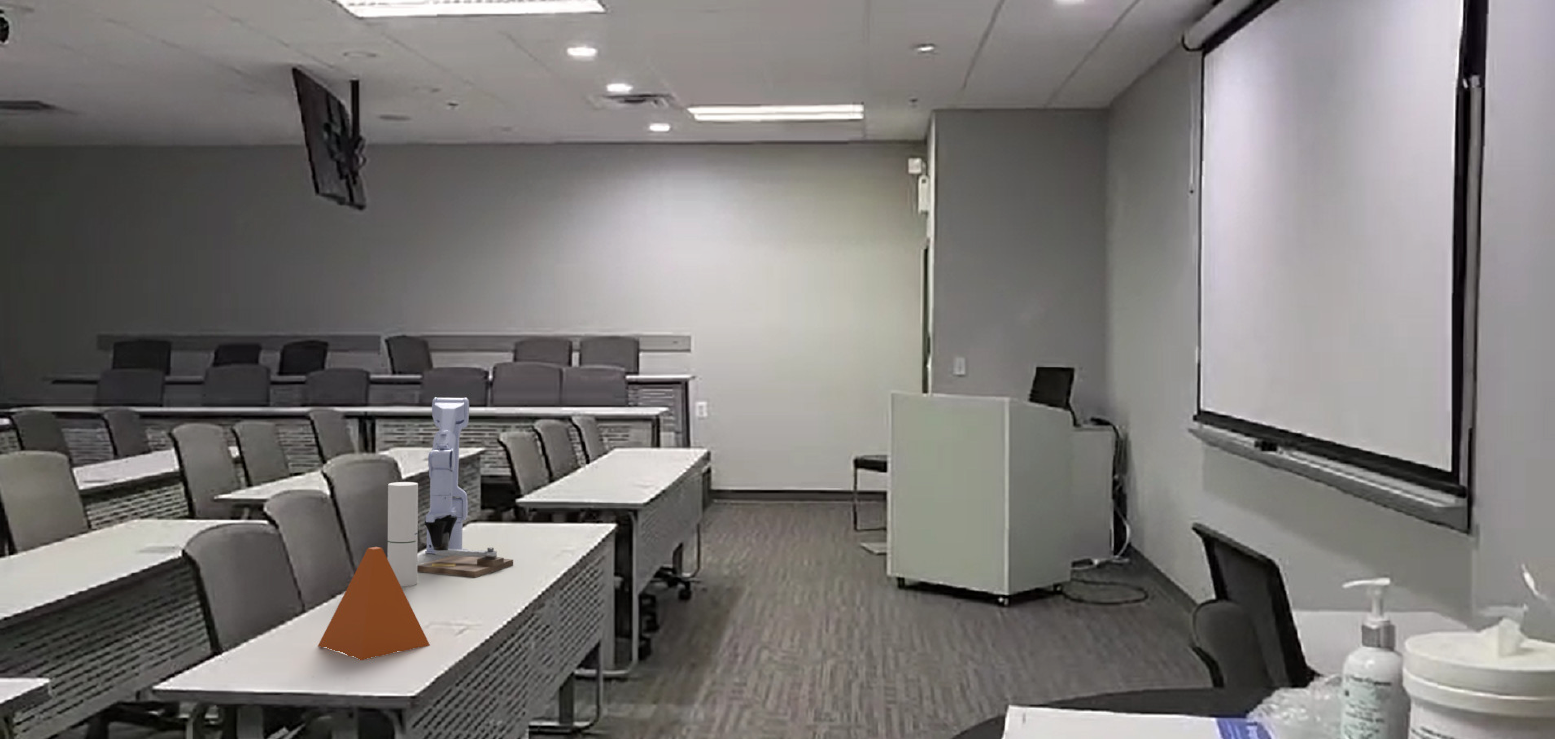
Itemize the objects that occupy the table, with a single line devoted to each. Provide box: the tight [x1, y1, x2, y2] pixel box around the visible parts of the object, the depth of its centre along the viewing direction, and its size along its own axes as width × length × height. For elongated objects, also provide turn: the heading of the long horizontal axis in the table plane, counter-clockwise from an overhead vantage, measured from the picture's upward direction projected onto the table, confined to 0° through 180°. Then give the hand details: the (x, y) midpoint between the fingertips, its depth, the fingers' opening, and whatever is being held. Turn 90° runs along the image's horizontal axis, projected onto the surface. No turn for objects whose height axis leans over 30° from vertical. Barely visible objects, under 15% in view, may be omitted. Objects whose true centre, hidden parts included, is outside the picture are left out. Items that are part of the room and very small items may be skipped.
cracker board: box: [417, 556, 514, 578], centre depth 332 cm, size 18×18×3 cm
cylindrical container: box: [387, 481, 419, 587], centre depth 311 cm, size 7×7×25 cm
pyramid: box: [317, 546, 431, 661], centre depth 252 cm, size 16×16×20 cm
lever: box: [433, 532, 498, 558], centre depth 332 cm, size 18×4×6 cm, turn 80°
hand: (440, 545), depth 333 cm, fingers open, 4 cm apart
